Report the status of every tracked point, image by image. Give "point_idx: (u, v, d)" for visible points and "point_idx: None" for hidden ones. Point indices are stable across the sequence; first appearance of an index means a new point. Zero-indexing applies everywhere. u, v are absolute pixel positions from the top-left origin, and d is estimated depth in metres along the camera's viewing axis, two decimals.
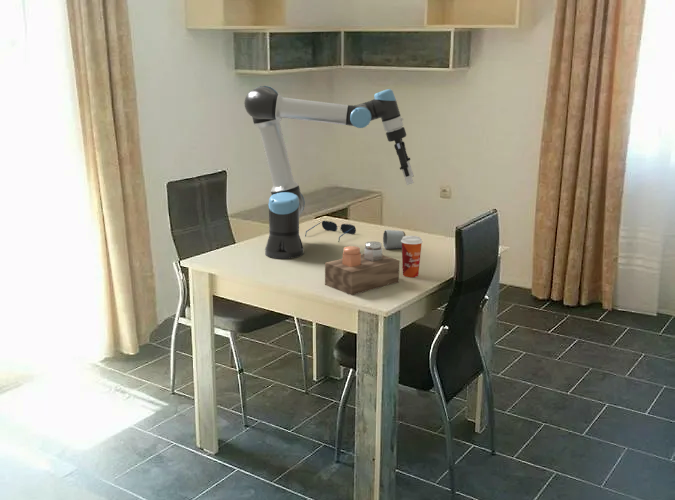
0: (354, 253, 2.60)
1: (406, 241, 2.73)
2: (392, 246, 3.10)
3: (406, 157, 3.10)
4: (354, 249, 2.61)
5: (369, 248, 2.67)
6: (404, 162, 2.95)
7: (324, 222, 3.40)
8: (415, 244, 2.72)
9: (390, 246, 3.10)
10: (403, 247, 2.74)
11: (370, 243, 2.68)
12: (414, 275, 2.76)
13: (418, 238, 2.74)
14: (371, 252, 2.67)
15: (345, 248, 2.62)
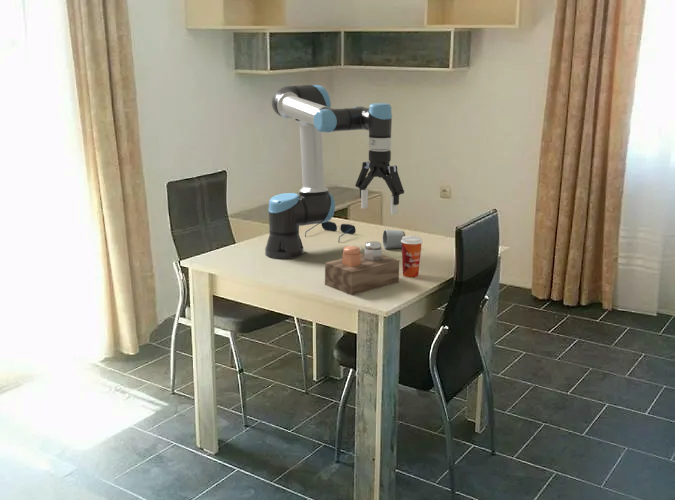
0: (354, 253, 2.60)
1: (406, 241, 2.73)
2: (392, 245, 3.10)
3: None
4: (354, 249, 2.61)
5: (369, 248, 2.67)
6: None
7: (324, 222, 3.39)
8: (415, 244, 2.72)
9: (390, 246, 3.10)
10: (403, 247, 2.74)
11: (370, 243, 2.68)
12: (414, 275, 2.76)
13: (418, 238, 2.74)
14: (371, 252, 2.67)
15: (345, 248, 2.62)
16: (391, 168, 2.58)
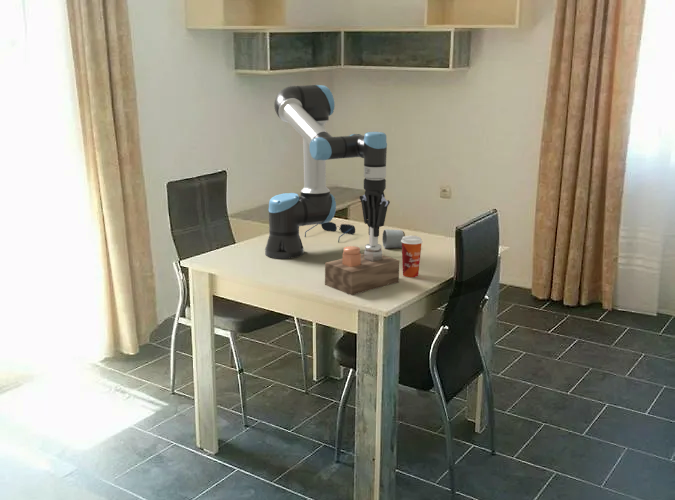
0: (354, 253, 2.60)
1: (406, 241, 2.73)
2: (392, 245, 3.11)
3: None
4: (354, 249, 2.61)
5: (369, 250, 2.67)
6: None
7: None
8: (415, 244, 2.72)
9: (389, 245, 3.11)
10: (403, 247, 2.74)
11: None
12: (414, 275, 2.76)
13: (418, 238, 2.74)
14: (371, 254, 2.67)
15: (345, 248, 2.62)
16: (383, 203, 2.60)
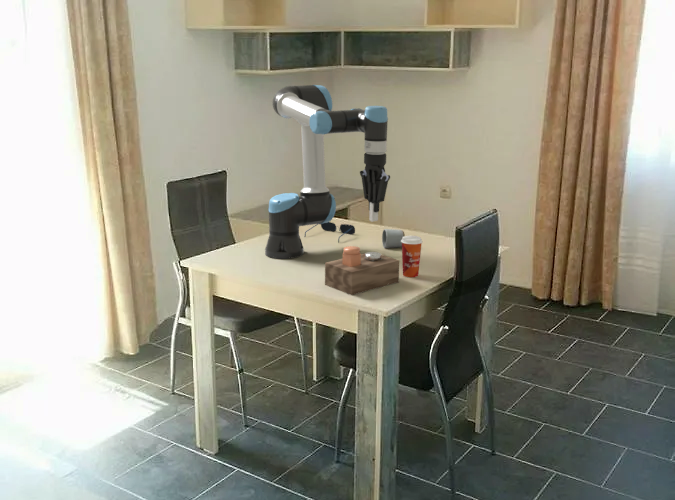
0: (354, 253, 2.60)
1: (406, 241, 2.73)
2: (391, 245, 3.11)
3: None
4: (354, 249, 2.61)
5: (369, 259, 2.68)
6: None
7: None
8: (415, 244, 2.72)
9: (389, 245, 3.11)
10: (403, 247, 2.74)
11: (370, 254, 2.69)
12: (414, 275, 2.76)
13: (418, 238, 2.74)
14: None
15: (345, 248, 2.62)
16: (383, 178, 2.57)
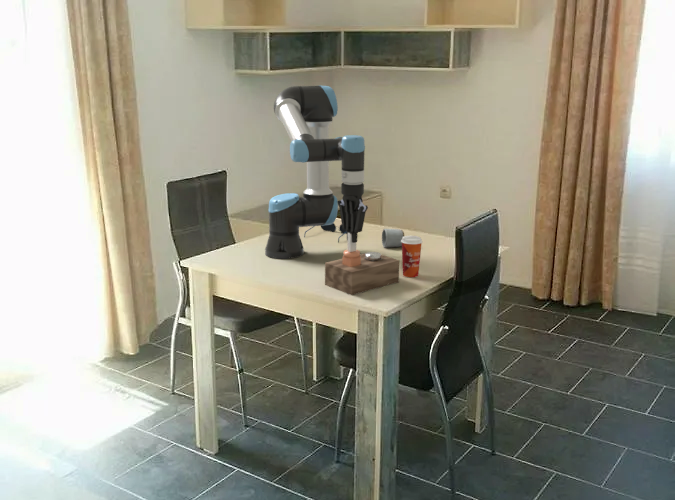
0: (354, 256, 2.61)
1: (406, 241, 2.73)
2: (391, 244, 3.12)
3: None
4: (354, 252, 2.62)
5: (369, 259, 2.68)
6: None
7: None
8: (415, 244, 2.72)
9: (389, 245, 3.12)
10: (403, 247, 2.74)
11: (370, 254, 2.69)
12: (414, 275, 2.76)
13: (418, 238, 2.74)
14: None
15: (345, 251, 2.63)
16: (361, 208, 2.53)
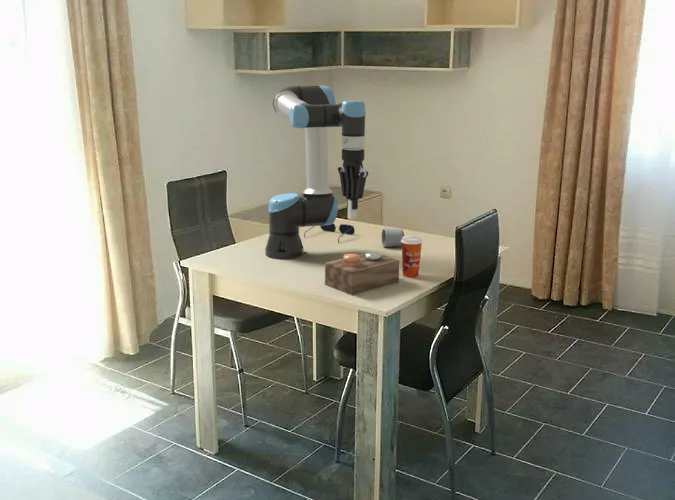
0: (354, 261, 2.61)
1: (406, 241, 2.73)
2: (390, 244, 3.12)
3: None
4: (354, 257, 2.62)
5: (369, 259, 2.68)
6: None
7: None
8: (415, 244, 2.72)
9: (388, 244, 3.12)
10: (403, 247, 2.74)
11: (370, 254, 2.69)
12: (414, 275, 2.76)
13: (418, 238, 2.74)
14: None
15: (345, 256, 2.63)
16: (361, 174, 2.50)
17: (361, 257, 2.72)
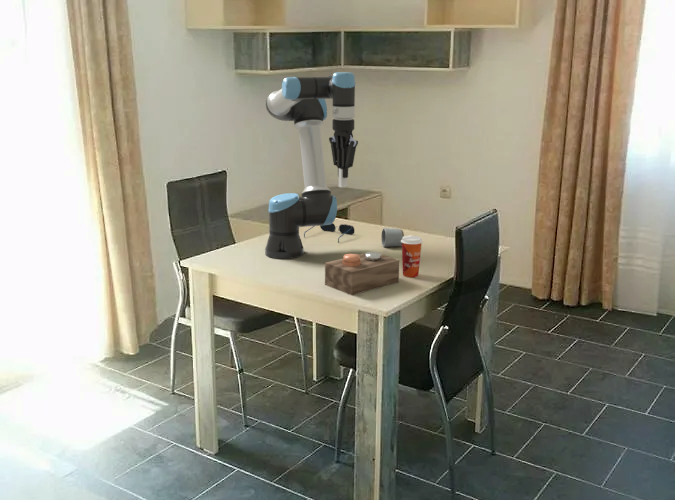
0: (354, 261, 2.61)
1: (406, 241, 2.73)
2: (390, 244, 3.13)
3: None
4: (354, 257, 2.62)
5: (369, 259, 2.68)
6: None
7: None
8: (415, 244, 2.72)
9: (388, 244, 3.13)
10: (403, 247, 2.74)
11: (370, 254, 2.69)
12: (414, 275, 2.76)
13: (418, 238, 2.74)
14: None
15: (345, 256, 2.63)
16: (351, 143, 2.61)
17: (361, 257, 2.72)
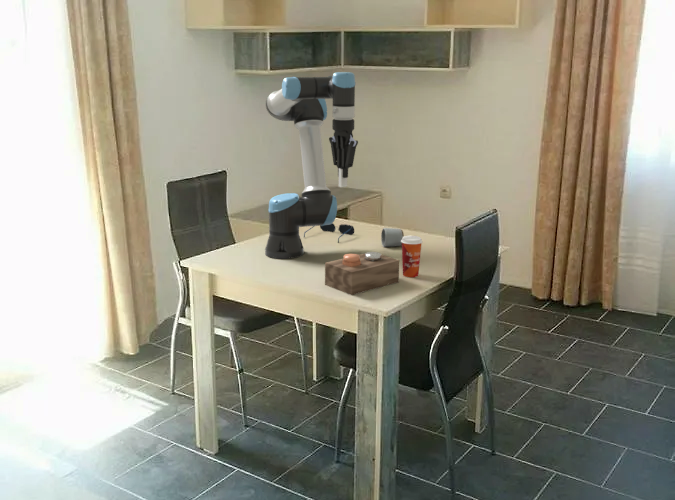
0: (354, 261, 2.61)
1: (406, 241, 2.73)
2: (390, 244, 3.13)
3: None
4: (354, 257, 2.62)
5: (369, 259, 2.68)
6: None
7: None
8: (415, 244, 2.72)
9: (388, 244, 3.13)
10: (403, 247, 2.74)
11: (370, 254, 2.69)
12: (414, 275, 2.76)
13: (418, 238, 2.74)
14: None
15: (345, 256, 2.63)
16: (351, 143, 2.61)
17: (361, 257, 2.72)
